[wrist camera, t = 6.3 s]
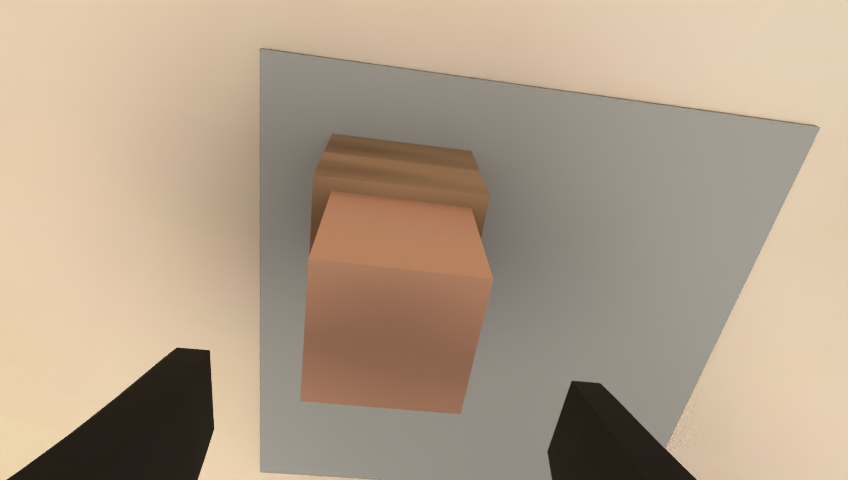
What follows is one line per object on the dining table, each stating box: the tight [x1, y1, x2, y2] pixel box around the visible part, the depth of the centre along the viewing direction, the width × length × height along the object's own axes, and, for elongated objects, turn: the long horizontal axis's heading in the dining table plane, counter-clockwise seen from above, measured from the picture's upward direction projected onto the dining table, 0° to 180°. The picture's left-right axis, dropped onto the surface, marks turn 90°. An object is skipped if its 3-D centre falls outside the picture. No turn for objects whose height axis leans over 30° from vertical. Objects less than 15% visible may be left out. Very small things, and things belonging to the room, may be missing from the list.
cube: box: [300, 191, 493, 414], centre depth 14 cm, size 4×4×4 cm
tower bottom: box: [324, 134, 480, 171], centre depth 18 cm, size 5×5×2 cm
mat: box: [260, 48, 820, 480], centre depth 22 cm, size 20×20×1 cm
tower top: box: [309, 152, 490, 255], centre depth 16 cm, size 5×5×2 cm
